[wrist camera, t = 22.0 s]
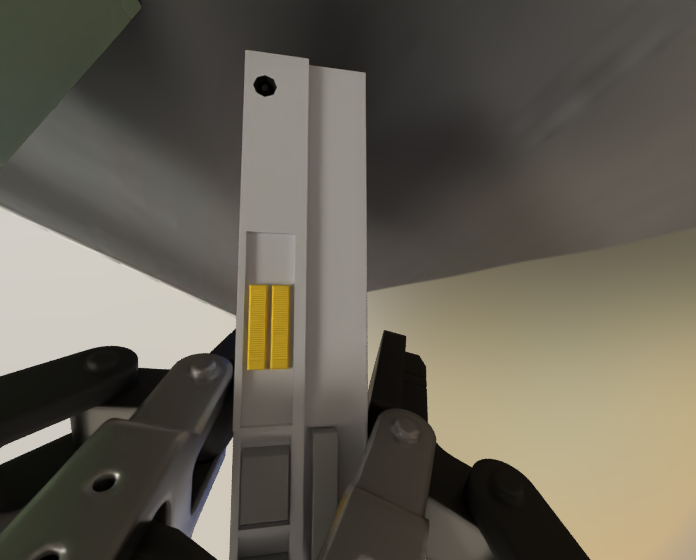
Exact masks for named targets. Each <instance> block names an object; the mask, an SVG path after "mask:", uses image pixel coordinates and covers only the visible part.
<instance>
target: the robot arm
mask: <svg viewBox="0 0 696 560" xmlns="http://www.w3.org/2000/svg"><path fill="white" fill-rule="evenodd" d="M235 346H236V329H235V330H234V331H233V332H232V333H230V334H229V335H228V336H227V337H226V338H225V339H224V340H223V341H222V342H221V343H220V344H219V345H218V346H217V347H216V348H215V349H214V350H213V351H211V353H209V354H208V353H203V354H195V355H190V356H188V357H185V358H183V359H181V360H180V361H178V362H177V363H176V364H175V365H174V366H173V367H172V368H171V369H170V370H167V369H149V368H138V357H137V355H136V353H135V352H133V351H132V350H130V349H128V348H124V347H119V346H105V347H98V348H93V349H89V350H86V351H83V352H79V353H76V354H73V355H69V356H66V357H63V358H60V359H56V360H53V361H49V362H46V363H43V364H40V365H36V366H33V367H30V368H26V369H24V370H20V371H17V372H13V373H10V374H7V375H4V376H0V448H1V447H2V446H4V445H6V444H8V443H11V442H13V441H15V440H18V439H20V438H22V437H25V436H27V435H30V434H32V433H34V432H36V431H39V430H41V429H44V428H46V427H49V426H51V425H53V424H56V423H58V422H60V421H63V420H65V419H68V418H70V420H71V429H72V433H70V434H68V435H65V436H63V437H61V438H59V439H56V440H54V441H52V442H50V443H47V444H45V445H43V446H41V447H39V448H36V449H35V450H32V451H30V452H28V453H25V454H23V455H21V456H19V457H17V458H14V459H12V460H10V461H8V462H5V463H3V464H1V465H0V560H217V559H216V558H215V557H213V556H212V555H210V554H209V553H208V552H207V551H206V550H204V549H203V548H202V547H200V546H199V545H198V544H197V543H195V542H194V541H193V540H192V539H191V537H192V533H193V530H194V527H195V525H196V522H197V520H198V518H199V515H200V513H201V511H202V509H203V506H204V504H205V502H206V499H207V497H208V495H209V492H210V490H211V488H212V485H213V483H214V481H215V478H216V476H217V474H218V472H219V469H220V467H221V465H222V462H223V460H224V457H225V452H226V446H227V445H228V443H229V442H230V440H231V439H232V437H233V434H234V432H233V406H234V376H235ZM405 348H406V336H404V335H401V334H397V333H393V332H390V331H386V330H384V333H383V336H382V340H381V343H380V347H379V351H378V355H377V358H376V362H375V365H374V369H373V373H372V377H371V381H370V385H369V389H368V442H367V445H366V447H365V450H364V452H363V455H362V457H361V459H360V462H359V464H358V467H357V469H356V472H355V474H354V477H353V479H352V481H351V482H349V483H348V485H347V487H346V489H345V491H344V494H343V496H342V499H341V501H340V503H339V506H338V508H337V511H336V513H335V515H334V518H333V520H332V523H331V525H330V528H329V530H328V532H327V535H326V537H325V540H324V542H323V544H322V547H321V549H320V552H319V554H318V557H317V559H316V560H425V559H426V560H590V559H589V557H588V556H587V555H586V553H585V552H584V551H583V550H582V548H581V547H580V546H579V544H578V543H577V542H576V540H575V539H574V538H573V537H572V535H571V534H570V532H569V531H568V530H567V529H566V527H565V526H564V525H563V523H562V522H561V521H560V519H559V518H558V517H557V516H556V514H555V513H554V511H553V510H552V509H551V508H550V506H549V505H548V504H547V502H546V501H545V500H544V498H543V497H542V496H541V494H540V493H539V492H538V491H537V490H536V488H535V487H534V485H533V484H532V483H531V482H530V481H529V480H528V479H527V478H526V477H525V476H524V475H523V474H522V473H521V472H519V471H518V470H517V469H515V468H514V467H512V466H510V465H508V464H506V463H504V462H502V461H498V460H494V459H482V460H479V461H477V462H476V463H475V464H474V465H473V467H470V466H468V465H467V464H465V463H463V462H461V461H459V460H458V459H456V458H454V457H453V456H451V455H450V454H448V453H447V452H446V451H444V450H443V449H442V448H441V447H440V446H439V445H438V444H437V443H436V436H435V433H434V431H433V429H432V427H431V426H430V425H429V424H428V413H427V389H426V386H427V383H426V366H425V364H424V363H423V361H422V359H421V358H420V356H419V355H416V354H412V353H409V352H405Z"/></svg>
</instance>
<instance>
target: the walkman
mask: <svg viewBox="0 0 696 560" xmlns="http://www.w3.org/2000/svg"><path fill="white" fill-rule="evenodd" d="M367 371H368V370H367V198H366V74H365V73H364V72H357V71H349V70H342V69H335V68H327V67H320V66H312V65H309V59H307V58H300V57H293V56H286V55H279V54H272V53H265V52H258V51H251V50H245V75H244V106H243V136H242V166H241V196H240V226H239V256H238V286H237V316H236V346H235V376H234V406H233V432H234V434H233V465H232V495H231V525H230V555H229V560H316V559H317V557H318V554H319V552H320V549H321V547H322V544H323V542H324V540H325V537H326V535H327V532H328V530H329V528H330V525H331V523H332V520H333V518H334V515H335V513H336V511H337V508H338V506H339V503H340V501H341V499H342V496H343V494H344V491H345V489H346V487H347V485H348V483H349V482H351V481H352V479H353V477H354V474H355V472H356V469H357V467H358V464H359V462H360V459H361V457H362V455H363V452H364V450H365V447H366V445H367V442H368V391H367V390H368V385H367V384H368V380H367V379H368V378H367V377H368V374H367Z"/></svg>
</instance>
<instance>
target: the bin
mask: <svg viewBox="0 0 696 560" xmlns="http://www.w3.org/2000/svg"><path fill="white" fill-rule="evenodd" d="M140 9H141V5H140V2H139V0H0V169H1V168H2V167H3V165H4V164H5V163H6V162H7V161H8V160H9V159H10V157H11V156H12V155H13V154H14V153H15V152H16V151H17V150H18V148H19V147H20V146H21V145H22V144H23V143H24V142H25V140H26V139H27V138H28V137H29V136H30V135H31V134H32V133H33V131H34V130H35V129H36V128H37V127H38V126H39V125H40V123H41V122H42V121H43V120H44V119H45V118H46V117H47V115H48V114H49V113H50V112H51V111H52V110H53V109H54V108H55V106H56V105H57V104H58V103H59V102H60V101H61V100H62V98H63V97H64V96H65V95H66V94H67V93H68V92H69V91H70V89H71V88H72V87H73V86H74V85H75V84H76V83H77V81H78V80H79V79H80V78H81V77H82V76H83V75H84V74H85V72H86V71H87V70H88V69H89V68H90V67H91V66H92V64H93V63H94V62H95V61H96V60H97V59H98V58H99V56H100V55H101V54H102V53H103V52H104V51H105V50H106V49H107V47H108V46H109V45H110V44H111V43H112V42H113V41H114V39H115V38H116V37H117V36H118V35H119V34H120V33H121V32H122V30H123V29H124V28H125V27H126V26H127V25H128V24H129V22H130V20H131V19H132V18H133V17H134V16H135V15H136V14H137V13H138V11H139V10H140Z"/></svg>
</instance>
